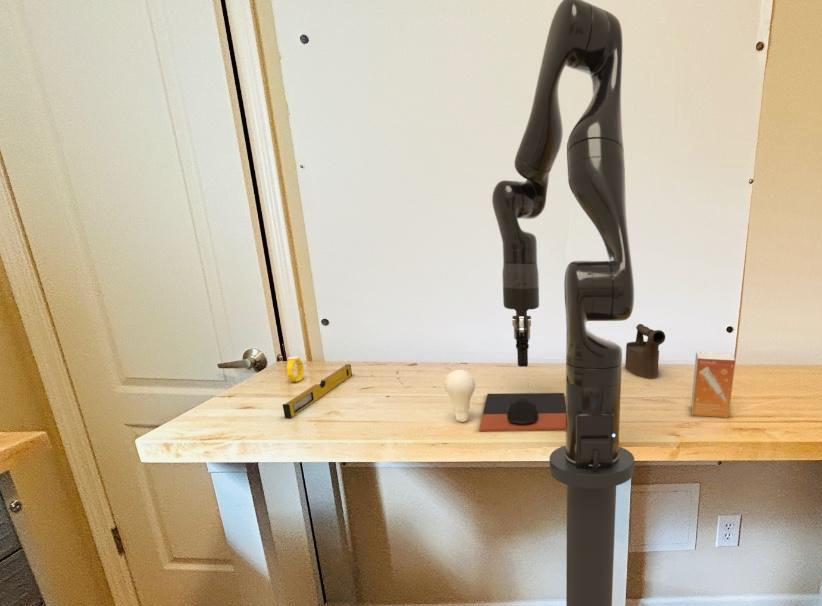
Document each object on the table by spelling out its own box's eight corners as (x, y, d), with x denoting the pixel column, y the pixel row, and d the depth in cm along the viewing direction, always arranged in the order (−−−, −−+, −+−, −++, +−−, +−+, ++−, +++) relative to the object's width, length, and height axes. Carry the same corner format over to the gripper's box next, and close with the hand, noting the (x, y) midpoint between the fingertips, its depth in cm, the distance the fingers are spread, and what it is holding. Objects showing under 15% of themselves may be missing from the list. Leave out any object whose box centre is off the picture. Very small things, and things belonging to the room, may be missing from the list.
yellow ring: (297, 384, 148) (293, 360, 146) (286, 384, 148) (281, 360, 146) (307, 377, 154) (303, 354, 151) (296, 377, 154) (292, 354, 151)
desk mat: (569, 430, 123) (569, 427, 123) (479, 431, 121) (479, 428, 121) (563, 395, 145) (563, 392, 145) (487, 395, 143) (487, 393, 143)
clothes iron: (640, 382, 157) (642, 330, 152) (624, 366, 171) (625, 319, 166) (669, 381, 159) (672, 330, 154) (650, 365, 173) (653, 318, 168)
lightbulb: (483, 420, 127) (480, 369, 123) (463, 428, 122) (459, 375, 118) (461, 415, 130) (458, 365, 126) (441, 422, 125) (436, 371, 121)
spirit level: (347, 375, 156) (345, 364, 155) (352, 375, 156) (350, 364, 155) (284, 418, 125) (282, 404, 124) (291, 418, 126) (288, 404, 124)
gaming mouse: (538, 403, 136) (537, 386, 135) (538, 426, 123) (537, 407, 121) (509, 404, 136) (509, 386, 134) (506, 426, 122) (506, 407, 121)
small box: (692, 416, 133) (697, 357, 128) (690, 407, 139) (695, 351, 134) (729, 418, 132) (735, 359, 127) (726, 409, 138) (732, 352, 133)
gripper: (539, 288, 121) (540, 373, 127) (538, 281, 133) (539, 359, 140) (501, 288, 120) (504, 373, 127) (503, 281, 132) (506, 359, 139)
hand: (522, 365), depth 133 cm, fingers closed
